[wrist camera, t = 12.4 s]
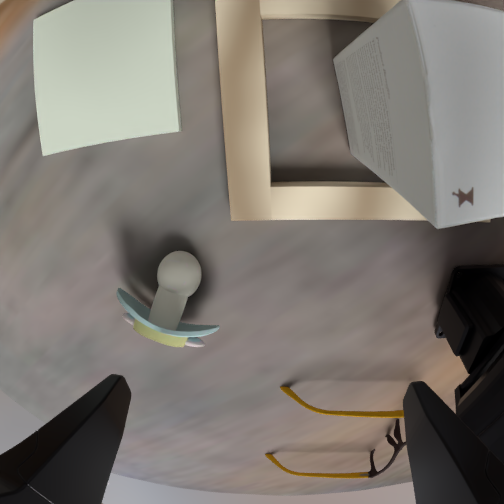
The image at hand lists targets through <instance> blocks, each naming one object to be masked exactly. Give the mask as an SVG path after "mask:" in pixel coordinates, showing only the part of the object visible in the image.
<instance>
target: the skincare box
mask: <svg viewBox="0 0 504 504" xmlns="http://www.w3.org/2000/svg"><path fill="white" fill-rule="evenodd" d="M333 62H334V67H335V71H336V76H337V81H338V85H339V90H340V95H341V101H342V106H343V111H344V117H345V123H346V128H347V134H348V140H349V146H350V153H351V155H353V156H354V157H355V158H356V159H358V160H359V161H360V162H361V163H363V164H364V165H365V166H367V167H368V168H369V169H370V170H371V171H373V172H374V173H375V174H376V175H377V176H379V177H380V178H381V179H382V180H383V181H385V182H386V183H387V184H388V185H389V186H390V187H392V188H393V189H394V190H395V191H396V192H398V193H399V194H400V195H401V196H402V197H403V198H404V199H405V200H406V201H408V202H409V203H410V204H411V205H412V206H413V207H414V208H415V209H416V210H417V211H419V212H420V213H421V214H422V215H423V216H424V217H425V218H426V219H427V220H428V221H429V222H430V223H431V224H432V225H433V226H434V227H435V228H437V229H441V228H446V227H451V226H456V225H461V224H466V223H472V222H477V221H482V220H487V219H492V218H498V217H504V11H502V10H498V9H494V8H490V7H486V6H481V5H476V4H471V3H466V2H460V1H454V0H401V1H399V2H398V3H397V4H396V5H395V6H394V7H393V8H391V9H390V10H389V11H388V12H387V13H385V14H384V15H383V16H382V17H381V18H379V19H378V20H377V21H376V22H375V23H374V24H373V25H371V26H370V27H369V28H368V29H366V30H365V31H364V32H363V33H362V34H360V35H359V36H358V37H357V38H356V39H355V40H354V41H353V42H351V43H350V44H349V45H348V46H347V47H346V48H344V49H343V50H342V51H341V52H340V53H339V54H338V55H337V56H335V57H334V59H333Z"/></svg>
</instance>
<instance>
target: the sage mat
mask: <svg viewBox="0 0 504 504" xmlns="http://www.w3.org/2000/svg"><path fill="white" fill-rule="evenodd" d="M33 62H34V83H35V97H36V107H37V117H38V125H39V133H40V140H41V147H42V153H43V156H45V155H49V154H54V153H58V152H62V151H67V150H71V149H76V148H80V147H85V146H90V145H95V144H100V143H106V142H111V141H117V140H123V139H129V138H135V137H142V136H149V135H156V134H163V133H171V132H180V131H182V127H181V116H180V105H179V93H178V80H177V66H176V51H175V33H174V11H173V0H74V1H72V2H69V3H67V4H65V5H63V6H61V7H59V8H56V9H54V10H52V11H50V12H48V13H46V14H44V15H42V16H40V17H39V18H37V19H35V20H34V24H33Z"/></svg>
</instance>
